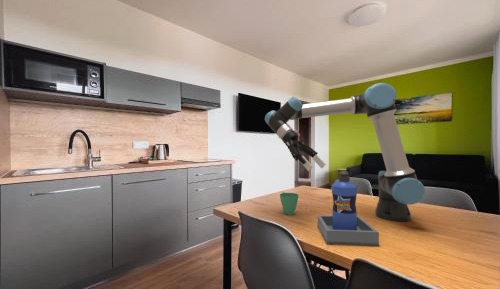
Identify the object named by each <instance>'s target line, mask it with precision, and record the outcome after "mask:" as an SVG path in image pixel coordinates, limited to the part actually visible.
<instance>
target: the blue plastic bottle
mask: <svg viewBox="0 0 500 289" xmlns="http://www.w3.org/2000/svg"><path fill="white" fill-rule="evenodd" d="M349 175H350V173H349V172H348V171H347V170H345V169H344V170H341V171H339V172H338V176H337V177H338V181H337V182H335V183H333V184H331V195H332V199H333V200H332V202H333V203H332V204H333V205H332V210H331V212H332V215H331V216H332V220H333V230H357V216H358V215H357V214H358V211H357V206H356V201H357V195H358V187H357V185H356V184H354V183H352V182H351V180H350V179H351V178H350V176H349Z"/></svg>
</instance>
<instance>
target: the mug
mask: <svg viewBox="0 0 500 289" xmlns="http://www.w3.org/2000/svg"><path fill="white" fill-rule="evenodd" d="M279 199H280V203H281V205H282V206H281V207H282V210H283V212H284V214H285V215H288V216H292V215H294V214H295V212H296V209H297V206H298V201H299V194H298V193H294V192H284V191H283V192H282V193H280V194H279Z"/></svg>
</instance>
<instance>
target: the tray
mask: <svg viewBox="0 0 500 289" xmlns="http://www.w3.org/2000/svg"><path fill="white" fill-rule="evenodd" d="M316 216H317V222H316V223H317V228H318V230H319V232H320V234H321V236H322V238H323V239H324V241H325V243H326V245H336V246H337V245H339V246H357V247H358V246H360V247H361V246H362V247H363V246H364V247H380V233H379V231H378V230H377V229H375V227H373V226H372V225H371V224H370V223H368V222H367V221H366V220H365V219H364V218H362V217H361V216H358V215H357V230H333V220H332V215H322V214H321V215H316Z"/></svg>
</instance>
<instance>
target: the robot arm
mask: <svg viewBox="0 0 500 289" xmlns="http://www.w3.org/2000/svg"><path fill="white" fill-rule="evenodd" d="M396 100H397V92H396V89H395V88H394V87H393V86H392V85H391V84H389V83H386V82H378V83H375V84H373V85H370V86H369V87H367V89H366V90H365V91H363V92H362V93H360V94H356V95H351V96H350V97H349V98H342V99H334V100H333V99H332V100H325V101H318V102H309V103H303V102H301V100H300V99H298V98H297V97H296V96H292V97H291V98H289V99H288V100H287V101H286V102H285V103H284V104H283V105H282V106H281V107H280V108H279V109H278V110H271V111H269V112H267V113H266V114H265V117H264V121H265V123H266V124H267V125H268V127H269V128H270V129H271V130H272V131H273V132H274V133H275V135H277V137H278V139H280V140H281V141H282V142H283V144H285V146H286V147H287V149H288V150H289V153H290V154H291V157H292V159H294V160H295V161H296V162H298V161H299V162H300V164H302V166H303V168H305V169H306V171H308V172H310V171H311V170H312V169H313V168H314V165H312V164H311V163H310V162H309V160H307V158H306V157H305V156H304V155H302V153H301V152H303V153H305V154H306V155H307V156H308V157H311V159H312V160H313V161H314V163H316V165H317V166H318V167H320V169H323V168H324V167H325V166H326V162H324V160H322V159H321V157H320V156H319V155H318V154H319V153H318V152H317V151H316V150H314V149H313V148H312V147H310V145H308V144H307V143H305V142H304V141H303V140H301V141H300V140H299V134H298V133H297V132H296V131H295V130H294V129H293V128H292V127H291V126H290V125H289V124H288V122H289V121H295V120H299V119H303V118H304V119H305V118H314V117H323V116H333V115H334V116H335V115H339V114H340V115H342V114H352V115H361V114H363V115H365V114H366V116H367V118H368V119H369V120H371V121H372V124H373V127H374V128H373V129H374V131H375V134H376V138H377V141H378V145H379V148H380V151H381V155H382V158H383V162H384V166H385V169H386V170H380V171H379V172H378V176H377V178H378V201H377V202H378V203H377V205H376V207H375V210H374V215H375V216H376V217H378V218H380V219H383V220H388V221H393V222H408V221H412V214H411V211H410V209H409V206H408V205H415V204H418V203H419V202H421V201H422V200H423V198H424V196H425V193H426V190H425V186H424V184H423V183H422V182H421V181H420V179H419V180H418V177H417V174H416V171H415V169H413V168H412V167H410V165H409V161H408V159H407V155H406V152H405V151H406V150H405V149H404V146H403V141H402V138H401V135H400V131H399V128H398V124H397V121H396V118H395V114H396V112H397V107H396V104H395V103H396Z"/></svg>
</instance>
